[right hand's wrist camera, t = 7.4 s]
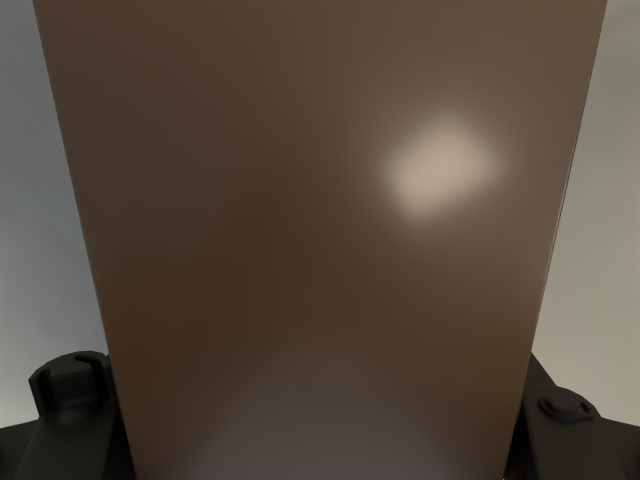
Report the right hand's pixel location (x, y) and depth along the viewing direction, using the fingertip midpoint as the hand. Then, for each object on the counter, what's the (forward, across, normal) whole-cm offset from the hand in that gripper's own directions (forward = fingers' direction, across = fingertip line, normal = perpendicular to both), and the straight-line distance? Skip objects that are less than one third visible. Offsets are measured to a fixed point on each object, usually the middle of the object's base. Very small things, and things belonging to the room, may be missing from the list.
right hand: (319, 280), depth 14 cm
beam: (+1, 0, -18) cm, 18 cm away
